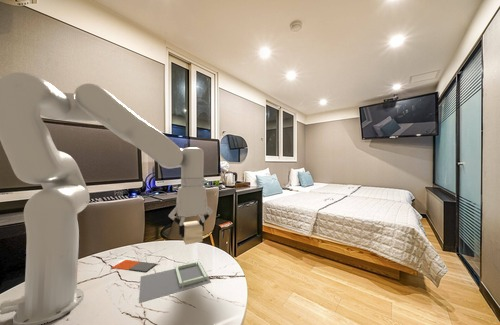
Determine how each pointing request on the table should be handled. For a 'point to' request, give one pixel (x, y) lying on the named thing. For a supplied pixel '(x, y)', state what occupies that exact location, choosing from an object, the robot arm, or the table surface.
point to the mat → (172, 281)
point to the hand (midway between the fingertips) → (191, 234)
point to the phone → (135, 266)
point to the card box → (192, 232)
